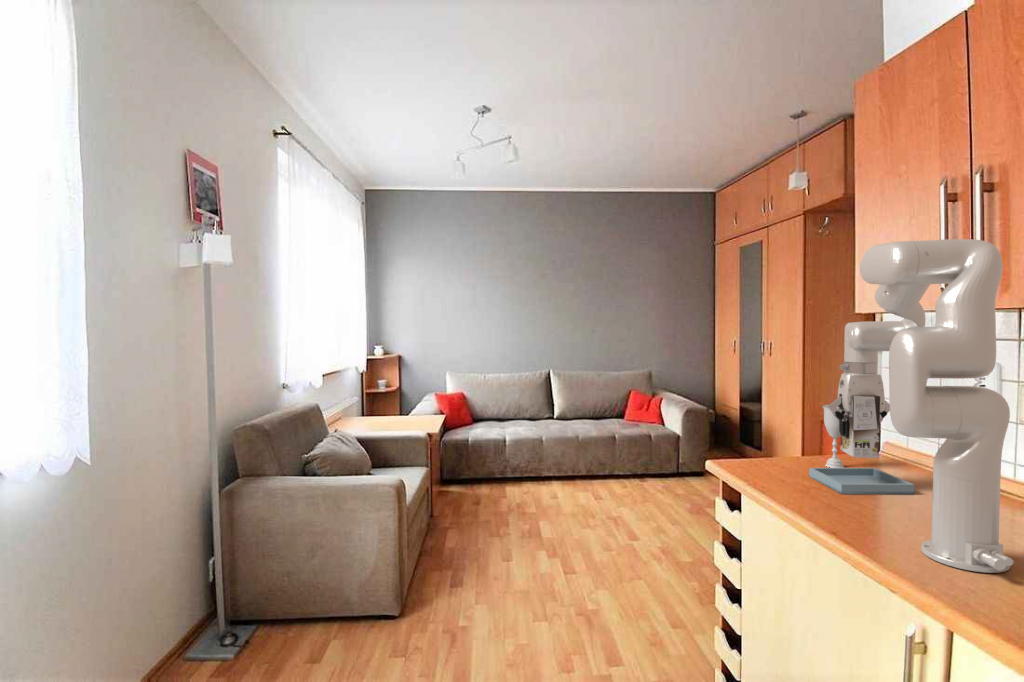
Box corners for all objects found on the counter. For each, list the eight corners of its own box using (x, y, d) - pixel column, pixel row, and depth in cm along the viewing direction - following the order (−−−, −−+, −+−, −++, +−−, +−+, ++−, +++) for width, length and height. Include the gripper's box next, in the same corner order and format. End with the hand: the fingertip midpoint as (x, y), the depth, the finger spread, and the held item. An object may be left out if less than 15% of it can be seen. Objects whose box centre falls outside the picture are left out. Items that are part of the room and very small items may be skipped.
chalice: (852, 470, 162) (853, 408, 162) (826, 469, 164) (827, 408, 163) (842, 463, 170) (842, 405, 169) (817, 462, 171) (818, 404, 170)
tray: (914, 494, 140) (914, 484, 139) (841, 494, 140) (841, 484, 140) (874, 476, 156) (874, 467, 155) (809, 476, 156) (809, 467, 156)
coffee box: (880, 458, 143) (881, 396, 142) (852, 457, 144) (853, 395, 143) (865, 450, 151) (866, 391, 151) (839, 449, 153) (840, 391, 152)
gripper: (834, 370, 143) (833, 439, 144) (903, 370, 143) (902, 438, 143) (819, 367, 151) (818, 433, 151) (884, 367, 150) (883, 433, 151)
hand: (859, 435), depth 147 cm, fingers closed on coffee box, 7 cm apart
